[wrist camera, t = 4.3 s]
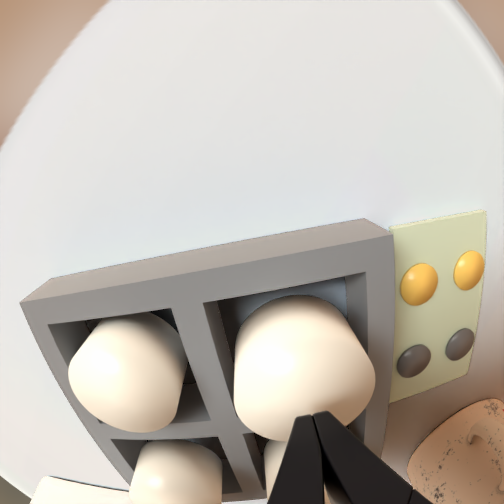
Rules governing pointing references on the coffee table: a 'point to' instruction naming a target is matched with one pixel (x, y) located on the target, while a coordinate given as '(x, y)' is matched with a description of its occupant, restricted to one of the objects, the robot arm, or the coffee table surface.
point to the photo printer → (76, 493)
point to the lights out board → (272, 278)
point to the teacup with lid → (463, 458)
